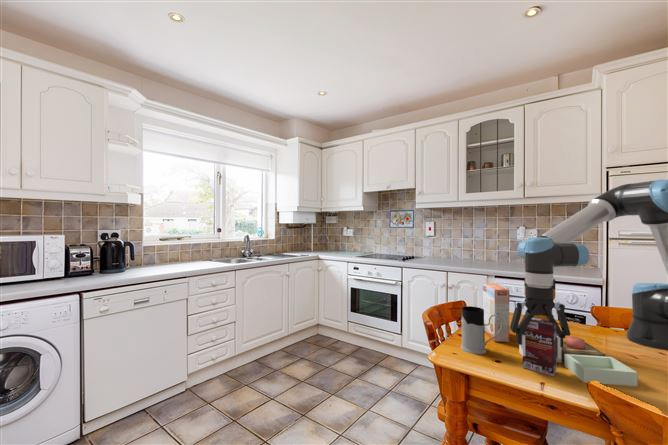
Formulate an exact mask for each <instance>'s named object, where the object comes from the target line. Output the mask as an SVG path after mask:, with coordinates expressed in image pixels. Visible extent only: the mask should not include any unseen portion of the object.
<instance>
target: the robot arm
mask: <svg viewBox="0 0 668 445" xmlns="http://www.w3.org/2000/svg"><path fill="white" fill-rule="evenodd" d="M627 216H639V219H640V222H641V224H643V225H644V226H647V227H649V228H650V231H651V234H652V236H653V239H654V242H655V244H656V247H657V249H658V250H657V251H658V253H659V255H660V258H661V260H662V263H663V266H664V268H665V271H666V274H667V275H668V179H657V180H649V181H643V182H635V183H626V184H622V185H619V186H618V185H617V187H612V188H611V189H609V190H607V191H606V192H603V193H602V194H600V195H598V196H596V197H595V198H593V199H591V200H590V201H589V202H588V203H587V206H586V207H584V208H582V209H581V210H579V211H577V212H576V213H574V214H573V215H570V217H568V218H567V219H565V220H563V221H561V222H560V223H558V224H556V225H555V226H553V227H551V228H550V229H549V230H547V231H546V232H544V233H543V234H541V235H539V236H538V237H527V238H526V240H523V241H520V242H519V244H518V246H517V250H516V251H517V254H518V256H519V257H520V258H521V260H524V270H525V271H524V274H525V275H524V278H525V283H526V284H527V285H526V286H525V291H524V296H525V298H524V301H518V300H515V301H514V310H513V314H512V318H511V323H510V324H509V331H511V332H512V333H513V334H515V335H516V336H515V337H516V338H515V342H516V344H517V345H518V346H519V348H518V350H519V351H518V352H519V354H520V355H521V356H522V357H523V356H525V335H524V334H523V333H524V331H525V329H526V327H527V326H528V324H529V322H530V321H531V319H532V318H533V317H534V316H535V315H543V316H546V317H547V319H548V321H551V322H556V335H557V336H556V337H557V338H556V357H557V358H559V359H560V347H563V341H564V339H566V337H571V330H570V327H569V324H568V320H567V317H566V313H565V312H566V311H565V309H566V306H565V304H563V303H560V302H554V300H553V288H552V287H551V286H553V279H554V268H555V267H573V268H576V267H581V266H584V265H586V264H587V263H588V262H589V260H590V251H589V248H587V247H586V245H584V244H582V243H577V242H576V243H575V242H574V241H575V240H577V239H579V238H580V237H582V236H583V235H585V234H587V233H588V232H590V231H592V230H593V229H595V228H596V227H598V226H599V225H600V224H602V223H604V222H610V221H611V222H612V221H613V220H615V219H616V218H620V217H627ZM631 301H632V303H631V304H632V308H631V309H632V320H631V322H630V324H629V327H628V330H626V339H628V340H630V341H632V342H634V343H636V344H638V345H642V346H644V347H645V346H646V347H649V348H655V349H659V350H660V349H661V350H668V283H664V282H663V283H662V282H661V283H659V282H639V283H638V282H637V283H635V284H633V285H632V292H631ZM524 307H526V310H525V312H524V313H525V314H523V317H522V318H521V316H522V312H523V309H524ZM553 309H555V311H556V314H557V318H558V321H559V323H558V322H557V321H556V318H555V316H554V315H553V312H552V313H551V310H552V311H553Z"/></svg>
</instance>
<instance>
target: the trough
mask: <svg viewBox="0 0 668 445" xmlns="http://www.w3.org/2000/svg"><path fill="white" fill-rule="evenodd" d="M563 364H564V367H565V368H566V369H567V368H568V371H570V372H571V373H572V374H573V373H574V374H573V375H574V376H576V377H577V378H578V377H579V378H580V379H579V378H578V379H579V380H581V381H582V382H583V383H588V382H590V381H594V380H595V381H598V382H600V383H602V384H601V385H603V384H604V385H615V386H628V387H638V372H637V371H635V369H632V368H631V367H629V366H627V365H626V364H624V363H622V362H621V361H620V360H617V359H616V358H614V357H612V356H606V355H605V356H590V355H574V354H564V363H563ZM600 383H599V384H600Z"/></svg>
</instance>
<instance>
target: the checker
mask: <svg viewBox="0 0 668 445" xmlns="http://www.w3.org/2000/svg"><path fill="white" fill-rule="evenodd" d="M564 354H574V355H590V356H605V357H606V353H604V352H602V351H600V350H599V349H597V348H596V347H594V346H592V345H591V344H589V343H588V342H585V349H584V350H578V349H572V348H569V347H567V346H566V341H565V340H563V347H562V364H564Z"/></svg>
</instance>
